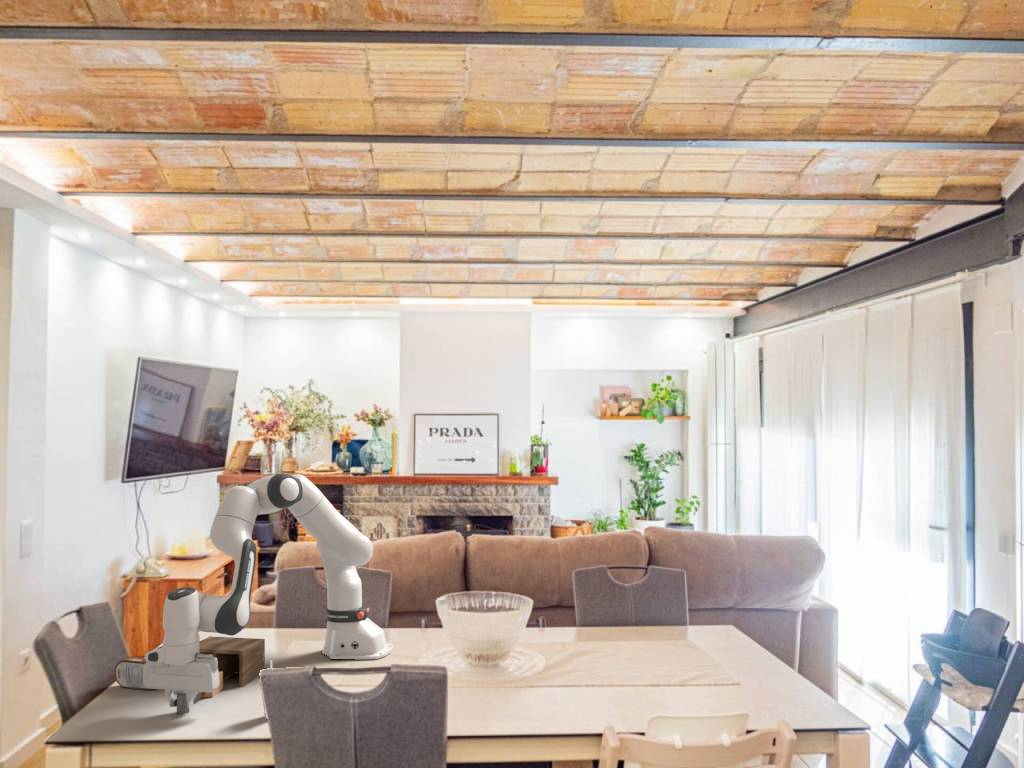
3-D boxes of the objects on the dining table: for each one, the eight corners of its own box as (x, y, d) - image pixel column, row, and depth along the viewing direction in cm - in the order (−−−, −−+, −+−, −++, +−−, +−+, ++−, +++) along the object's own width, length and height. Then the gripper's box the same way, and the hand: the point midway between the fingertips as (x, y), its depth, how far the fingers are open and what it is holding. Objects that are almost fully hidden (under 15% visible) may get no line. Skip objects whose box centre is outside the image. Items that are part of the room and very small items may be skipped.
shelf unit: (264, 672, 232) (264, 639, 233) (242, 686, 221) (242, 650, 221) (210, 669, 236) (210, 636, 237) (185, 683, 224) (185, 647, 225)
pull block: (222, 689, 219) (222, 671, 219) (189, 714, 200) (189, 694, 200) (205, 689, 219) (205, 671, 219) (170, 714, 201) (170, 694, 201)
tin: (164, 688, 220) (164, 658, 221) (156, 692, 217) (156, 661, 218) (120, 684, 224) (120, 654, 225) (112, 688, 221) (112, 658, 222)
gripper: (224, 651, 203) (224, 704, 202) (155, 647, 207) (154, 699, 206) (210, 658, 197) (210, 714, 196) (139, 654, 201) (138, 708, 200)
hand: (181, 706), depth 201 cm, fingers closed on pull block, 3 cm apart
